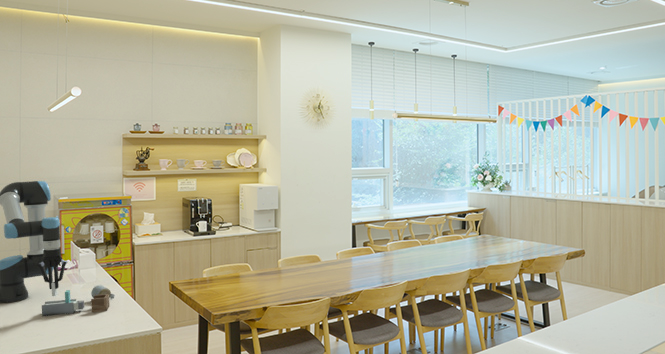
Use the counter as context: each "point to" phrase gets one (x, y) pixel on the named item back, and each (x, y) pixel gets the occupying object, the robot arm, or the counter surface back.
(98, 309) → the socket
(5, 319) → the counter surface
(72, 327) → the counter surface
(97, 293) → the ceramic mug
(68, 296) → the rod
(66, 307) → the channel
